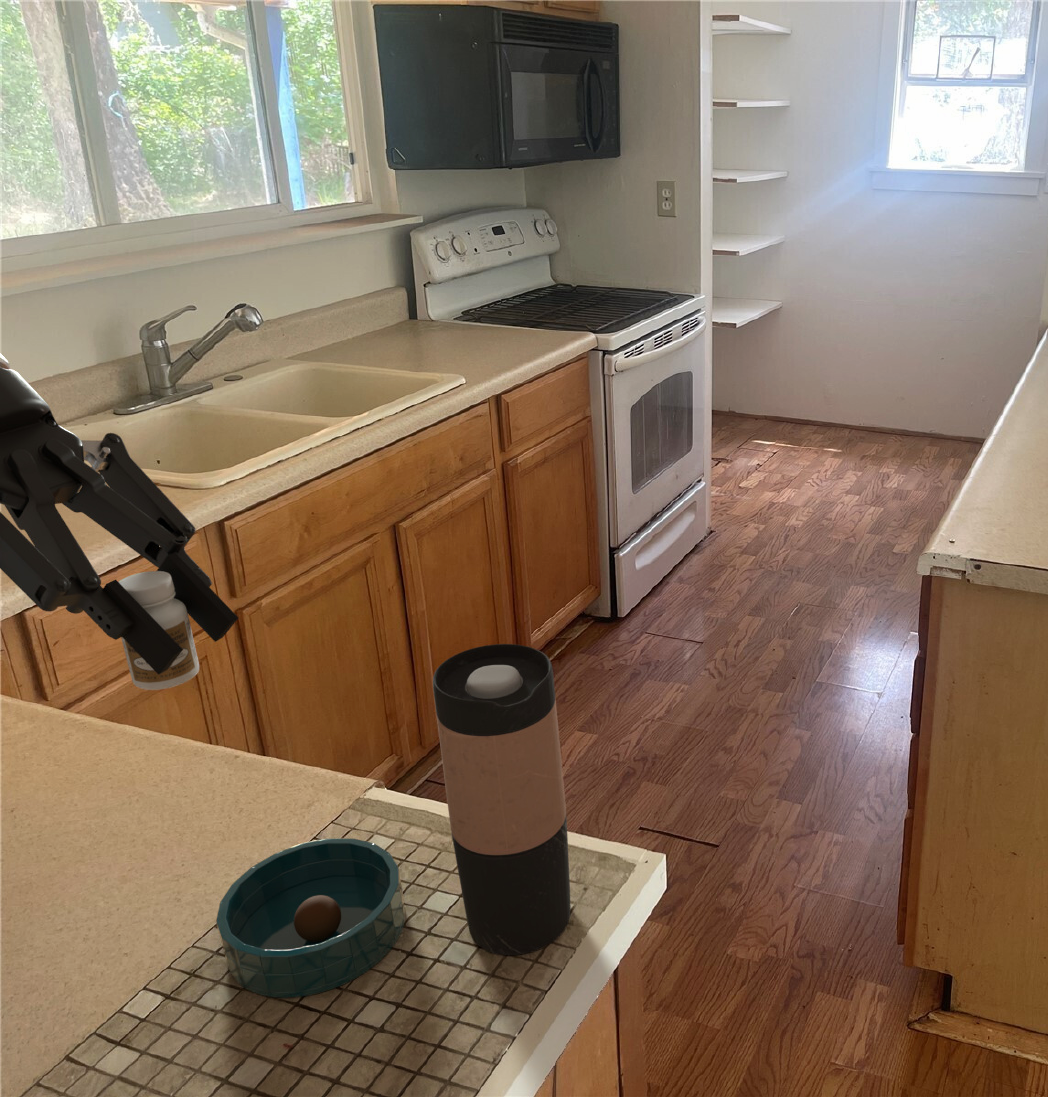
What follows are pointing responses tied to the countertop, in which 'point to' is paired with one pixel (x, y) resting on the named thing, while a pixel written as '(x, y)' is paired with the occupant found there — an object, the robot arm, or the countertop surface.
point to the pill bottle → (172, 616)
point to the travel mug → (505, 794)
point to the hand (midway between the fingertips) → (199, 645)
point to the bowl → (273, 898)
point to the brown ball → (317, 918)
